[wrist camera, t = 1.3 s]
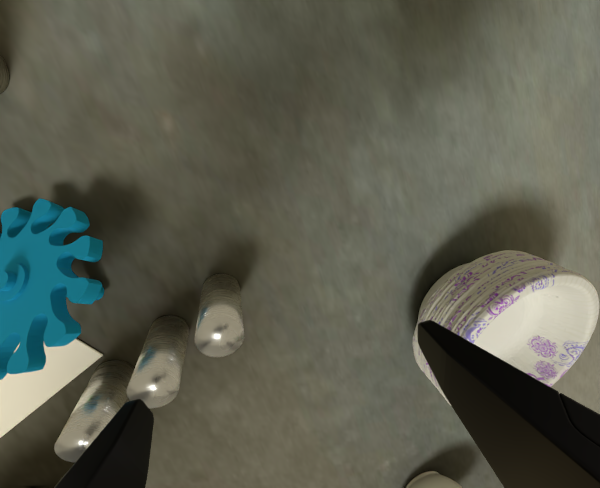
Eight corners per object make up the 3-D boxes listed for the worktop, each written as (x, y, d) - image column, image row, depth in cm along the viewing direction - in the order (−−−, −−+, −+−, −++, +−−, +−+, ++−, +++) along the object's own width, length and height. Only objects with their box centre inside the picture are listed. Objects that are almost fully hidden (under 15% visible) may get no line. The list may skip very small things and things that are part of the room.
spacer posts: (116, 393, 24) (85, 468, 19) (-239, 197, 15) (-504, 235, 9) (247, 290, 24) (253, 336, 18) (-36, 18, 14) (-196, -51, 9)
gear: (69, 165, 16) (93, 333, 13) (144, 206, 22) (174, 331, 18) (-86, 247, 17) (-102, 426, 14) (25, 267, 23) (33, 397, 19)
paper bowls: (477, 362, 35) (542, 421, 28) (373, 355, 30) (419, 425, 23) (540, 250, 31) (637, 286, 23) (431, 222, 26) (509, 257, 19)
